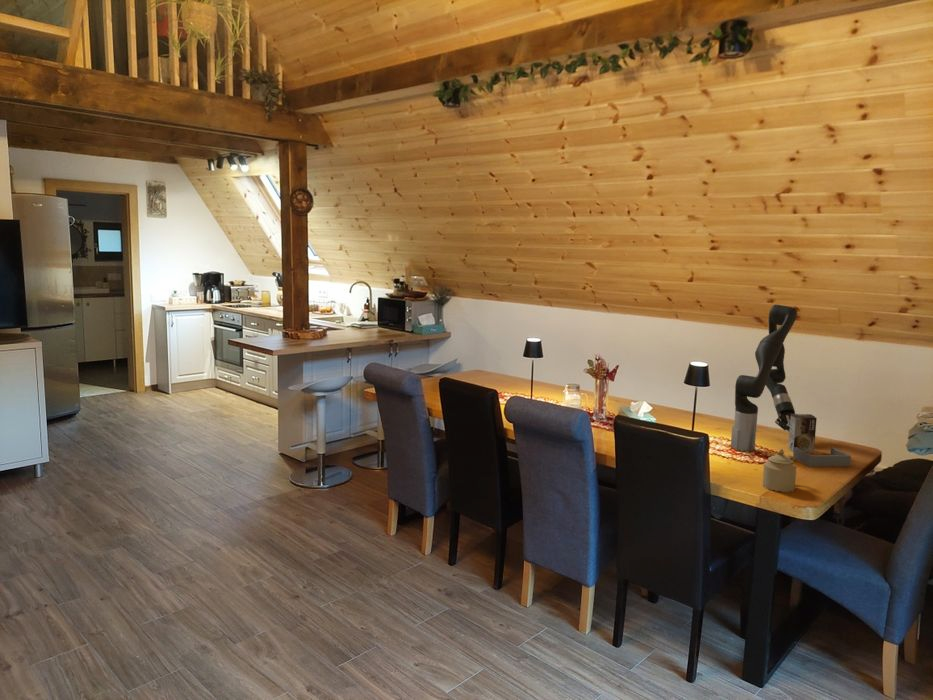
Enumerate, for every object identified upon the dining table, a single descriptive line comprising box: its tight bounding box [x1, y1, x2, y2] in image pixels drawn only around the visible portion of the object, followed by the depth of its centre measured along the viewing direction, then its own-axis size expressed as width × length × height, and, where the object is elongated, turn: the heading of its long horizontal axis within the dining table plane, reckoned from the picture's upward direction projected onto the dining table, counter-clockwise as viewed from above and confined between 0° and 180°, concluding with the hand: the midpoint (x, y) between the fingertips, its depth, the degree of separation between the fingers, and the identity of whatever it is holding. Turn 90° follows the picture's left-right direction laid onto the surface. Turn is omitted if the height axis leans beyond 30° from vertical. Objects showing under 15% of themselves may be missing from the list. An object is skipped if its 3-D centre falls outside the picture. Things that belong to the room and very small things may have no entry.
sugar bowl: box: [762, 448, 797, 493], centre depth 250 cm, size 15×11×15 cm
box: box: [792, 447, 852, 467], centre depth 280 cm, size 17×12×4 cm
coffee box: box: [787, 413, 818, 454], centre depth 295 cm, size 9×6×16 cm
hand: (794, 437), depth 301 cm, fingers closed
